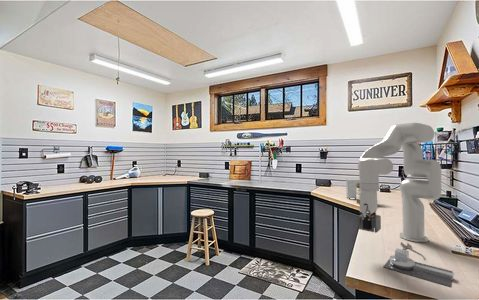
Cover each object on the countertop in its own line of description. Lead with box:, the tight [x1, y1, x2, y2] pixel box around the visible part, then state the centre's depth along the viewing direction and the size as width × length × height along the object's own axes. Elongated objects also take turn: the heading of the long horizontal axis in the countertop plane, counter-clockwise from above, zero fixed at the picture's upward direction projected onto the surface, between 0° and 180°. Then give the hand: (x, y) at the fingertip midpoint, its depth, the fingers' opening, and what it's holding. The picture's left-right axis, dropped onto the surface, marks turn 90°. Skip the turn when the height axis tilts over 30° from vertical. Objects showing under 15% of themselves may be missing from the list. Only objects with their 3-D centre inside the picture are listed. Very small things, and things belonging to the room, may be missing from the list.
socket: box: [358, 213, 382, 234], centre depth 106 cm, size 7×7×6 cm
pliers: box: [400, 241, 426, 261], centre depth 113 cm, size 10×1×20 cm
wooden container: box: [356, 183, 361, 204], centre depth 219 cm, size 15×15×22 cm
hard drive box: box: [345, 178, 359, 199], centre depth 243 cm, size 16×8×20 cm, turn 82°
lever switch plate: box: [383, 248, 454, 288], centre depth 93 cm, size 14×20×6 cm
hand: (369, 226), depth 106 cm, fingers closed on socket, 7 cm apart
